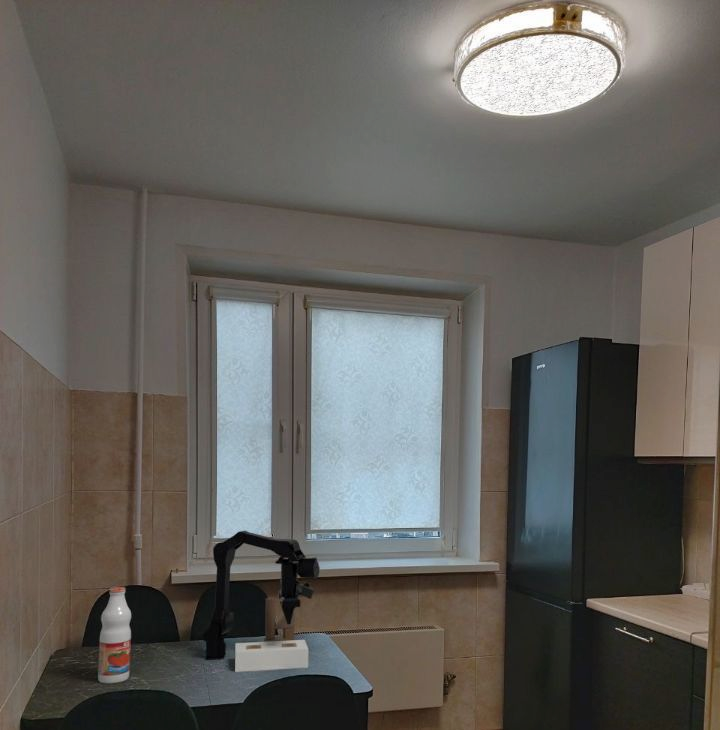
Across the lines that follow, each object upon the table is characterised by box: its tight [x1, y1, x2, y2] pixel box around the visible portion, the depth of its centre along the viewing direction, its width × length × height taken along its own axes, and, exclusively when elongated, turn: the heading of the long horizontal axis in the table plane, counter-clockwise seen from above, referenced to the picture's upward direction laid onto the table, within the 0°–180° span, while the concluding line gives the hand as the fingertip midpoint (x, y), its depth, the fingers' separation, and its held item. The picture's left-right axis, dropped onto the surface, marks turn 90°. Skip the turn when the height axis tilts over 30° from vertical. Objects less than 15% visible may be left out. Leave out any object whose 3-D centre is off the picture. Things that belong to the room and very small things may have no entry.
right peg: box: [282, 643, 296, 647], centre depth 231 cm, size 4×4×5 cm
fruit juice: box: [97, 586, 132, 684], centre depth 216 cm, size 9×9×28 cm
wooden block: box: [263, 597, 296, 642], centre depth 251 cm, size 4×11×18 cm, turn 111°
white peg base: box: [234, 639, 309, 673], centre depth 230 cm, size 24×12×6 cm, turn 101°
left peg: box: [247, 645, 260, 649], centre depth 229 cm, size 4×4×5 cm
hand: (288, 624), depth 232 cm, fingers closed
